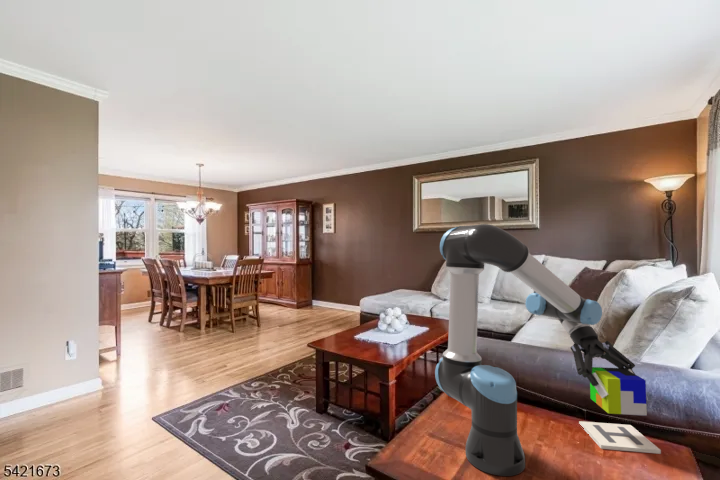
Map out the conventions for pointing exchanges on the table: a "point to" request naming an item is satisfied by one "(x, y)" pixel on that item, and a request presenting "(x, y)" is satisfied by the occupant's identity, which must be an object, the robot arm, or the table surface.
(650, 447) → the letter board
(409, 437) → the table surface
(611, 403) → the puzzle toy
